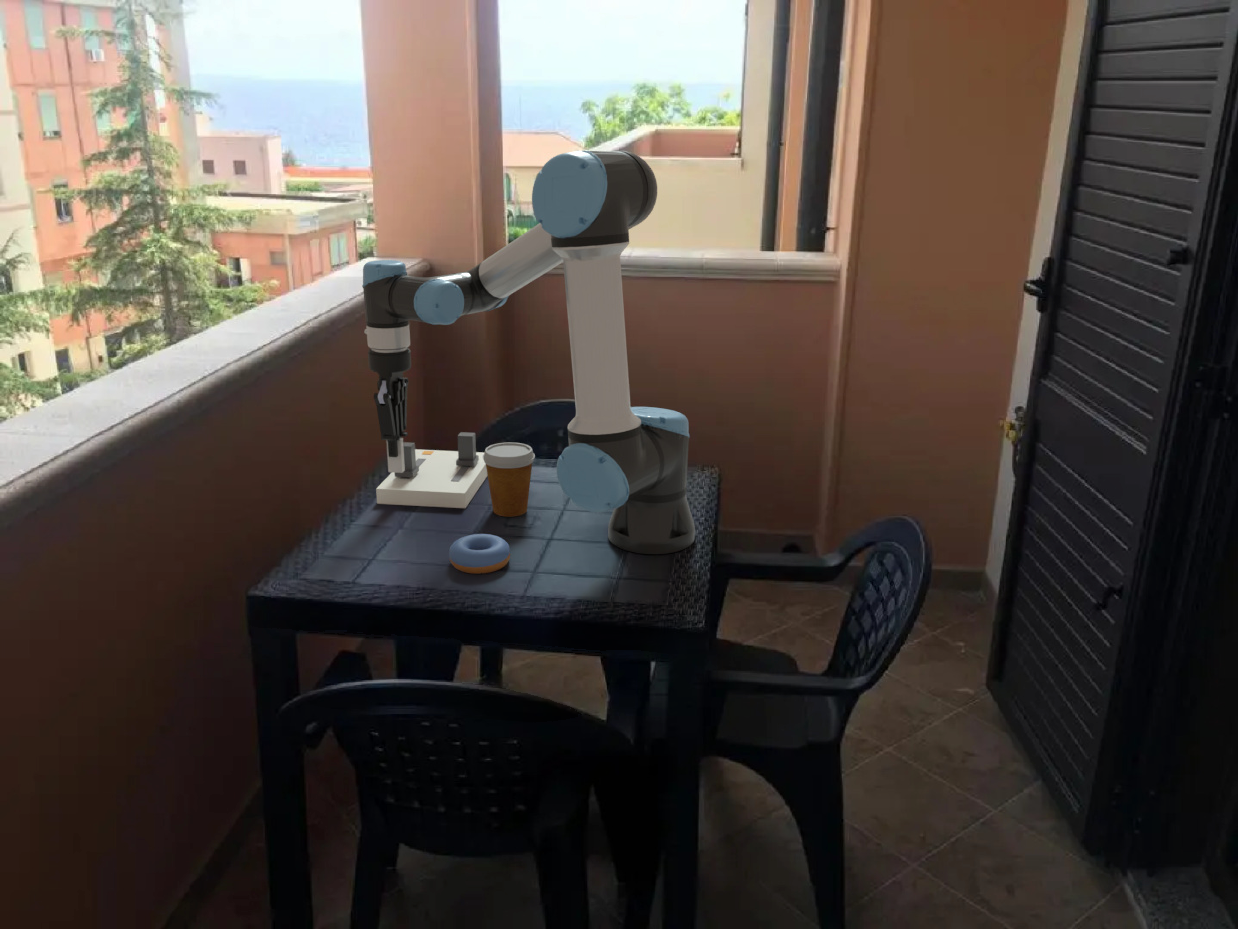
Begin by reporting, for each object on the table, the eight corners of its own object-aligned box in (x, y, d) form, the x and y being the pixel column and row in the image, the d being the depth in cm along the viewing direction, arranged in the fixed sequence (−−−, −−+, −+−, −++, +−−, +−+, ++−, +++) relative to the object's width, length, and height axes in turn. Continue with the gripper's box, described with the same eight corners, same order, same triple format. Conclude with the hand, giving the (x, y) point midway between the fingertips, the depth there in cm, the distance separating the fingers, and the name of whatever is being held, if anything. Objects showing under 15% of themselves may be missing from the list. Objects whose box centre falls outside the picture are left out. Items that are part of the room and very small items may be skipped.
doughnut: (441, 574, 155) (443, 547, 154) (455, 551, 165) (457, 526, 164) (503, 582, 155) (506, 555, 154) (513, 559, 165) (516, 533, 164)
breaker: (473, 466, 195) (472, 437, 193) (456, 465, 195) (455, 436, 193) (478, 459, 199) (477, 431, 197) (461, 459, 199) (460, 431, 197)
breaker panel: (465, 508, 183) (464, 492, 182) (377, 503, 184) (376, 488, 183) (493, 466, 205) (493, 452, 204) (414, 462, 207) (414, 448, 206)
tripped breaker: (412, 477, 188) (411, 447, 186) (394, 476, 189) (392, 447, 187) (419, 470, 192) (417, 441, 190) (401, 469, 192) (399, 440, 190)
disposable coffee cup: (532, 521, 177) (532, 458, 173) (480, 519, 178) (478, 457, 174) (538, 502, 186) (537, 442, 182) (488, 500, 187) (486, 441, 183)
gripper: (380, 339, 183) (388, 459, 190) (356, 355, 170) (365, 482, 178) (419, 341, 182) (426, 461, 190) (398, 356, 170) (405, 484, 177)
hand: (396, 471), depth 184 cm, fingers closed
